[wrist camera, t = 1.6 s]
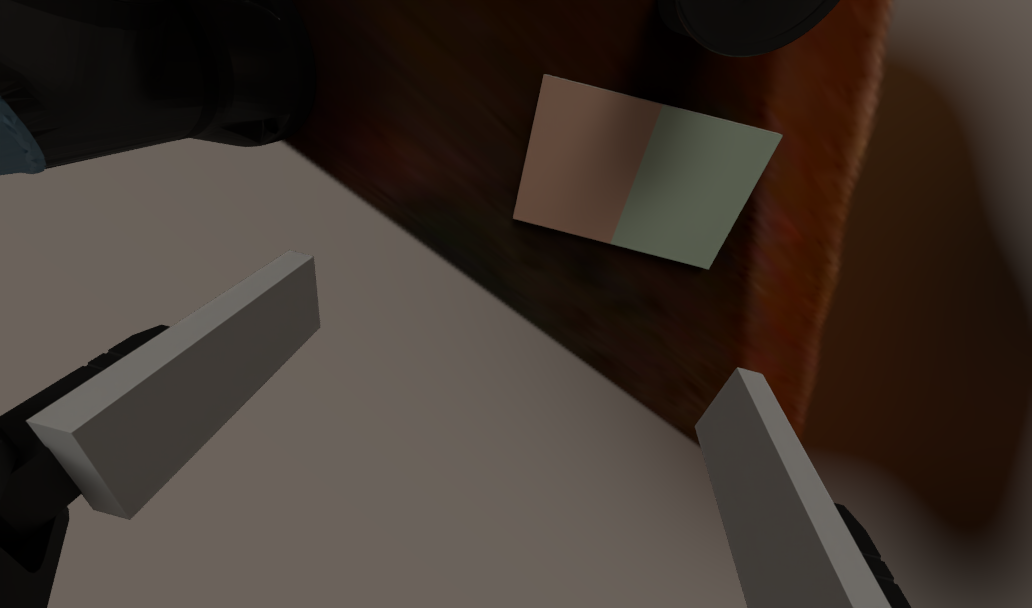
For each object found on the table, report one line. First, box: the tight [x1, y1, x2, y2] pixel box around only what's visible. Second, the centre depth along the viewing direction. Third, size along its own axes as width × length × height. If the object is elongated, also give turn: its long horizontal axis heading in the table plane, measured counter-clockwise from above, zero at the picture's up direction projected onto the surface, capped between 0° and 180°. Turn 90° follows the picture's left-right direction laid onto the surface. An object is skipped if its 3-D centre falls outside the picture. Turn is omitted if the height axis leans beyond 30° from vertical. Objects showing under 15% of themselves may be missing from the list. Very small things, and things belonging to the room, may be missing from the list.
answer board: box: [513, 74, 783, 269], centre depth 34 cm, size 19×12×1 cm, turn 78°
